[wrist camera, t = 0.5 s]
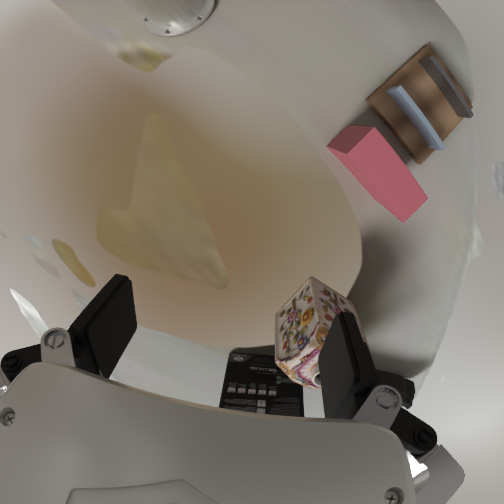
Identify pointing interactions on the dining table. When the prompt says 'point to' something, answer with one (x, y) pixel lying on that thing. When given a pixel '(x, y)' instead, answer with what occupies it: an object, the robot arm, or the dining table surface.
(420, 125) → the divider
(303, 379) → the decorative jar
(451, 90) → the bookend
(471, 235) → the dining table surface
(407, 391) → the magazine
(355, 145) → the red block
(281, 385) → the graphics card box
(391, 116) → the shelf board
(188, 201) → the dining table surface
